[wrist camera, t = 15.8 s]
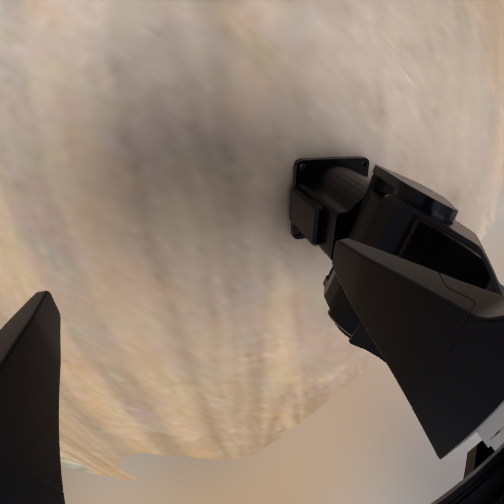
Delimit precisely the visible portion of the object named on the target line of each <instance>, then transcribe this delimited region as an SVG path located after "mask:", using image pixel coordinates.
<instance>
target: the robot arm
mask: <svg viewBox="0 0 504 504" xmlns="http://www.w3.org/2000/svg"><path fill="white" fill-rule="evenodd" d="M363 161H364V164H363V165H362V162H363ZM301 164H304V166H303V168H301V169H300V165H301ZM368 168H369V160H368V159H367V158H365V157H329V158H308V159H299V160H297V161H296V162H295V165H294V182H293V187H292V189H291V193H290V213H289V219H290V220H291V235H292V236H293V237H294V238H295V239H302V238H307V239H308V240H309V241H310V243H311V244H313V245H314V246H316V245H318V246H319V247H320V248H321V249H322V250H323V251H324V252H325V253H326V254H327V256H328V257H329V258H330V259H331V260H332V265H333V267H332V269H331V271H330V273H329V275H328V276H326V278H325V280H324V282H323V284H324V287H325V288H324V297H325V299H326V301H327V304H328V306H329V308H330V309H329V311H328V314H329V316H330V318H331V319H332V320H333V321H334V323H335V324H336V325H337V327H338V328H339V330H341V331H342V332H343V333H344V334H345V335H346V336H347V337H349V338H350V339H349V342H350V343H351V344H353V345H355V346H358V347H360V348H363V349H365V350H367V351H369V352H371V353H372V354H374V355H376V356H377V357H379V358H380V359H382V360H383V361H384V362H386V363H387V365H388V366H389V368H390V370H391V371H392V373H393V375H394V377H395V378H396V380H397V382H398V384H399V385H400V387H401V389H402V391H403V392H404V394H405V396H406V398H407V400H408V401H409V403H410V405H411V407H412V409H413V411H414V413H415V414H416V416H417V418H418V420H419V422H420V423H421V425H422V427H423V429H424V431H425V433H426V435H427V437H428V439H429V440H430V442H431V444H432V446H433V448H434V450H435V452H436V454H437V456H438V457H439V459H442V458H443V457H445V456H446V455H447V454H449V453H450V452H452V451H453V450H454V449H455V448H457V447H458V446H459V445H461V444H462V443H463V442H465V441H466V440H467V439H468V438H469V437H471V436H472V435H473V434H474V433H476V432H477V433H478V435H479V436H480V438H481V439H482V441H481V442H480V443H478V444H477V445H476V446H475V447H474V448H473V449H471V450H470V451H469V452H468V454H467V460H466V467H465V473H464V478H463V480H462V481H461V482H459V483H458V484H457V485H455V486H454V487H453V488H452V489H450V490H449V491H448V492H446V493H445V494H444V495H442V496H441V497H440V498H438V499H437V500H435V501H434V502H433V503H431V504H504V286H503V285H501V284H500V283H499V281H498V279H497V277H496V275H495V272H494V270H493V268H492V266H491V264H490V261H489V259H488V257H487V255H486V253H485V251H484V249H483V247H482V245H481V243H480V241H479V239H478V237H477V236H476V234H475V233H474V232H472V231H471V230H469V229H468V228H466V227H465V226H463V225H462V224H460V223H458V222H457V221H455V220H454V219H455V217H456V215H457V213H458V210H457V209H456V208H455V207H454V206H453V205H452V204H451V203H450V202H449V201H447V200H446V199H445V198H444V197H442V196H441V195H439V194H437V193H435V192H434V191H432V190H430V189H428V188H426V187H425V186H423V185H421V184H419V183H417V182H415V181H413V180H410V179H408V178H406V177H404V176H402V175H399V174H397V173H395V172H392V171H390V170H388V169H385V168H383V167H381V166H378V165H376V164H375V167H374V169H373V173H374V174H373V176H372V178H371V179H369V178H367V176H368ZM297 231H299V233H298V234H296V232H297ZM60 365H61V350H60V313H59V310H58V308H57V306H56V304H55V302H54V300H53V297H52V295H51V293H50V292H49V291H42V292H37V293H36V294H35V295H34V296H33V297H32V298H31V299H30V300H29V301H28V302H27V303H26V304H25V305H24V306H23V307H22V308H21V309H20V310H19V311H18V312H17V313H16V314H15V315H14V316H13V317H12V318H11V319H10V320H9V321H8V322H7V323H6V324H5V325H4V326H3V328H2V329H1V330H0V504H65V500H64V493H63V492H62V491H63V485H62V476H61V463H60V446H59V384H60Z"/></svg>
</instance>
